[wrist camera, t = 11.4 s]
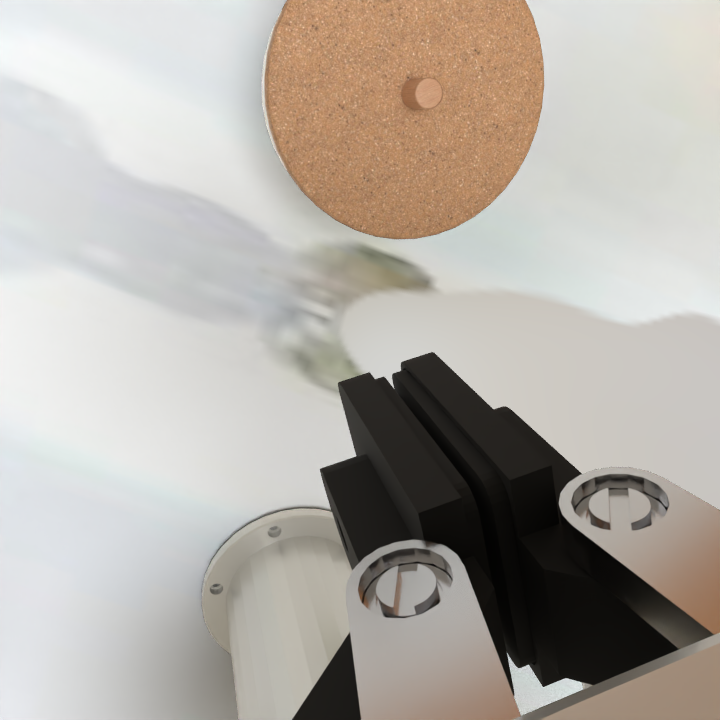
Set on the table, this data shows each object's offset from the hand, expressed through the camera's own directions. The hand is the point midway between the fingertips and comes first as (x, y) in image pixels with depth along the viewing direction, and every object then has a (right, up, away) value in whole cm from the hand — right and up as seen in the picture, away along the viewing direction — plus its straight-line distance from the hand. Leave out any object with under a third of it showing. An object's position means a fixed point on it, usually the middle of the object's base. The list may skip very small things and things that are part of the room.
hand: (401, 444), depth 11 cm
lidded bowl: (-1, +16, +26) cm, 31 cm away
